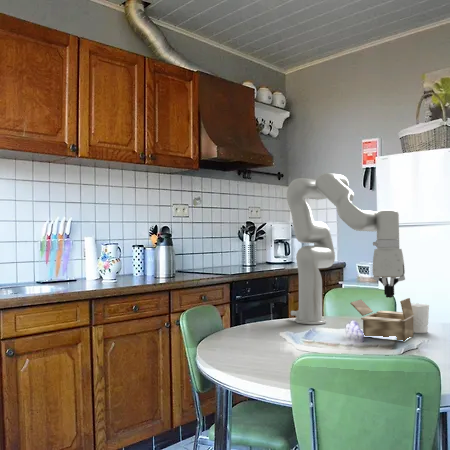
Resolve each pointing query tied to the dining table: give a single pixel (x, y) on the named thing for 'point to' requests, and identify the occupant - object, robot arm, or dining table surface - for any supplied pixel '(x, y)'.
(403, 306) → the flap
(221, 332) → the dining table surface
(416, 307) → the white cup
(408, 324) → the carton
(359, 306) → the flap
